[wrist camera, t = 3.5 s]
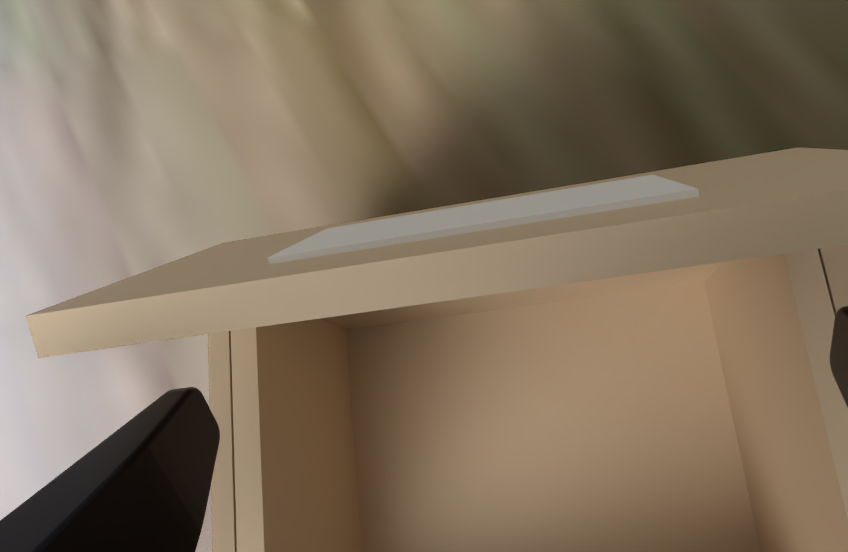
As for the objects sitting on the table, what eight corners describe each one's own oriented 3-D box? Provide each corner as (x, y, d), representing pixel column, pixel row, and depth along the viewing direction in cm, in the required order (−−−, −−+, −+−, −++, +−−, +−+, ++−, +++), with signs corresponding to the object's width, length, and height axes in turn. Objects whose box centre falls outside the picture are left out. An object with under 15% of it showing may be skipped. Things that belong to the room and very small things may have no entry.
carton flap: (1040, 217, 7) (1041, 149, 7) (38, 357, 9) (22, 309, 9) (799, 178, 13) (797, 142, 12) (229, 268, 15) (221, 238, 15)
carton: (845, 744, 16) (1044, 973, 9) (344, 751, 18) (220, 939, 12) (736, 260, 19) (830, 173, 12) (317, 319, 21) (206, 272, 15)
